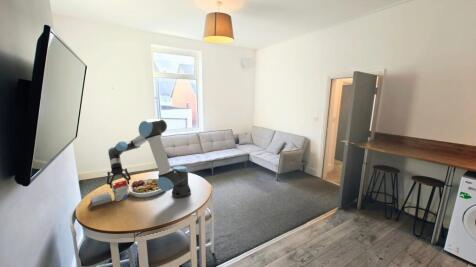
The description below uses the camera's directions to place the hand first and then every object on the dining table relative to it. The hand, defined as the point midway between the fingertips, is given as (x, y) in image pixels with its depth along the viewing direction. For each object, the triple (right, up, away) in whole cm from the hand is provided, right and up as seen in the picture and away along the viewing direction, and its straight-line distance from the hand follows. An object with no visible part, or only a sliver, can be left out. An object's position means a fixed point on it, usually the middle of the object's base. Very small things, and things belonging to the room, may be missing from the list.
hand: (120, 190), depth 156 cm
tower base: (-12, -10, -4) cm, 16 cm away
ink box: (-2, -8, +4) cm, 9 cm away
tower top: (-12, -7, -4) cm, 15 cm away
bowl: (+14, -6, +18) cm, 23 cm away
